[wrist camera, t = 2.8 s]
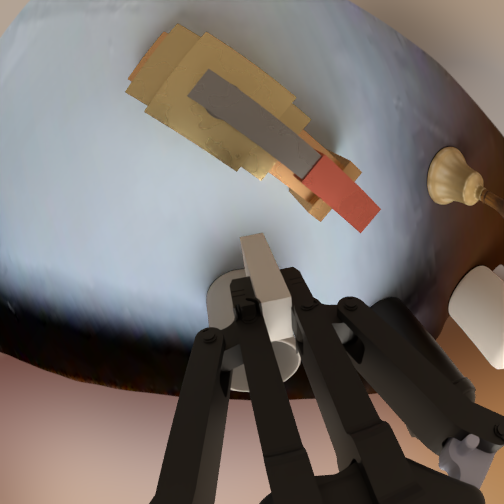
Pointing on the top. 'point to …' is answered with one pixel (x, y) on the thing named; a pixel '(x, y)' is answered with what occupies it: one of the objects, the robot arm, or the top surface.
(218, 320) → the mug
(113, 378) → the top surface
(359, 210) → the lever
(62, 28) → the top surface
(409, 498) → the robot arm
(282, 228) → the top surface
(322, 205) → the valve
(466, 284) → the white lidded jar
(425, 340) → the water bottle
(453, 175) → the hand bell
